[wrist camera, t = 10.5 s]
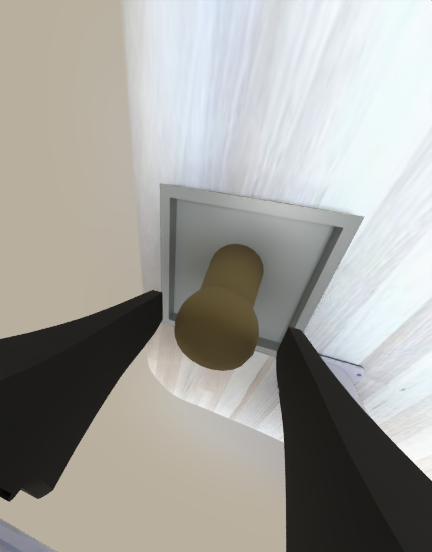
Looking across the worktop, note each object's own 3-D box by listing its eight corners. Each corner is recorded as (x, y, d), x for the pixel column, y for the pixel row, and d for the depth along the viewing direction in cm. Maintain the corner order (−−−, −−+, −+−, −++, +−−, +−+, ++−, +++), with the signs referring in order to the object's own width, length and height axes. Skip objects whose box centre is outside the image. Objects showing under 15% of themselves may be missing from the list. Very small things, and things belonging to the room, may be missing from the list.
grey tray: (285, 347, 22) (287, 360, 20) (169, 313, 25) (161, 322, 23) (351, 214, 14) (364, 216, 12) (170, 185, 17) (159, 183, 15)
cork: (268, 289, 18) (277, 390, 9) (218, 296, 21) (181, 385, 11) (257, 237, 16) (252, 294, 7) (202, 251, 18) (139, 310, 9)
